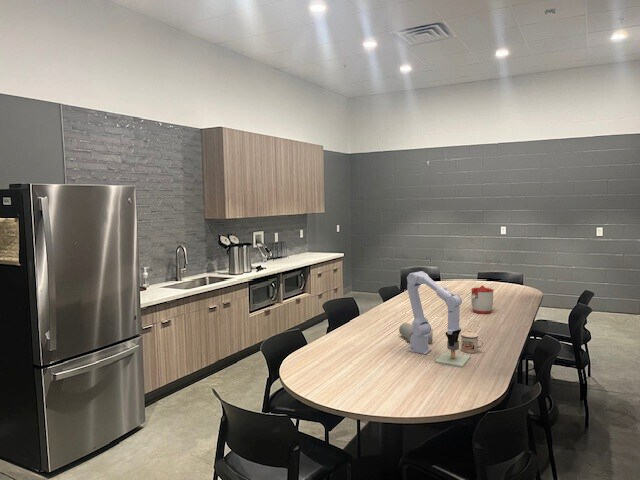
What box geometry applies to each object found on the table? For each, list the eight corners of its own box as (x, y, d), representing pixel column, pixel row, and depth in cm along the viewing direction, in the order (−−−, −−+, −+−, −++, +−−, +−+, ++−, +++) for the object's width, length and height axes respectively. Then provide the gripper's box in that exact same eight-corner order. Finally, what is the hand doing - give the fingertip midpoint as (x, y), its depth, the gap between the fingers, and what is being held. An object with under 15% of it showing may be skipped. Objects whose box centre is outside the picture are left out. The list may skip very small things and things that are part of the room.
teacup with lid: (458, 351, 260) (459, 331, 259) (462, 347, 268) (463, 327, 267) (481, 355, 254) (482, 334, 253) (484, 350, 262) (485, 329, 261)
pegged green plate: (434, 362, 243) (435, 352, 243) (444, 353, 257) (444, 343, 257) (462, 367, 236) (462, 356, 236) (470, 358, 250) (470, 347, 249)
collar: (446, 349, 245) (446, 341, 245) (448, 346, 250) (449, 338, 249) (457, 350, 242) (457, 343, 242) (459, 347, 247) (459, 340, 247)
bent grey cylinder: (396, 341, 275) (432, 344, 270) (397, 323, 277) (432, 325, 272) (399, 339, 292) (432, 341, 287) (399, 322, 294) (433, 324, 289)
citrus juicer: (464, 311, 350) (464, 284, 348) (482, 308, 357) (482, 282, 355) (479, 316, 336) (480, 288, 334) (497, 313, 343) (498, 286, 341)
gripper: (457, 323, 236) (457, 349, 238) (465, 316, 249) (464, 341, 250) (443, 321, 240) (443, 347, 241) (451, 315, 252) (451, 339, 254)
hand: (453, 344), depth 246 cm, fingers closed on collar, 6 cm apart
